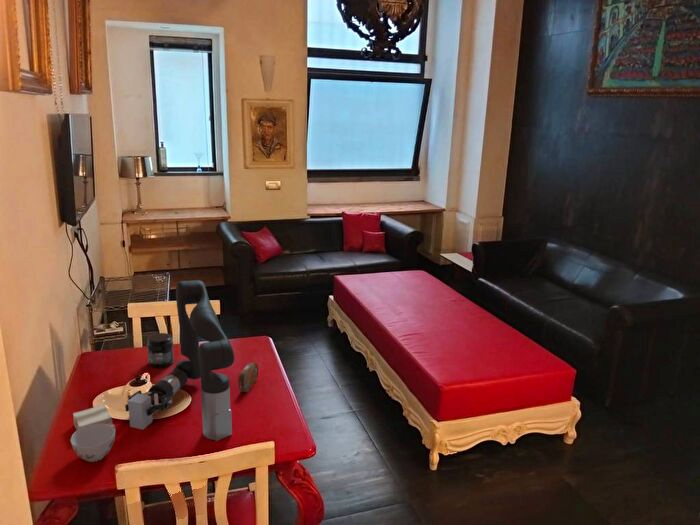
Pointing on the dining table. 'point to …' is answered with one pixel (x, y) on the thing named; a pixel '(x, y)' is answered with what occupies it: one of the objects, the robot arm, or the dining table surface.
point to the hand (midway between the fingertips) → (137, 411)
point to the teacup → (93, 441)
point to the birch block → (92, 417)
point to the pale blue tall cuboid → (139, 411)
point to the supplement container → (160, 350)
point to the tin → (248, 377)
